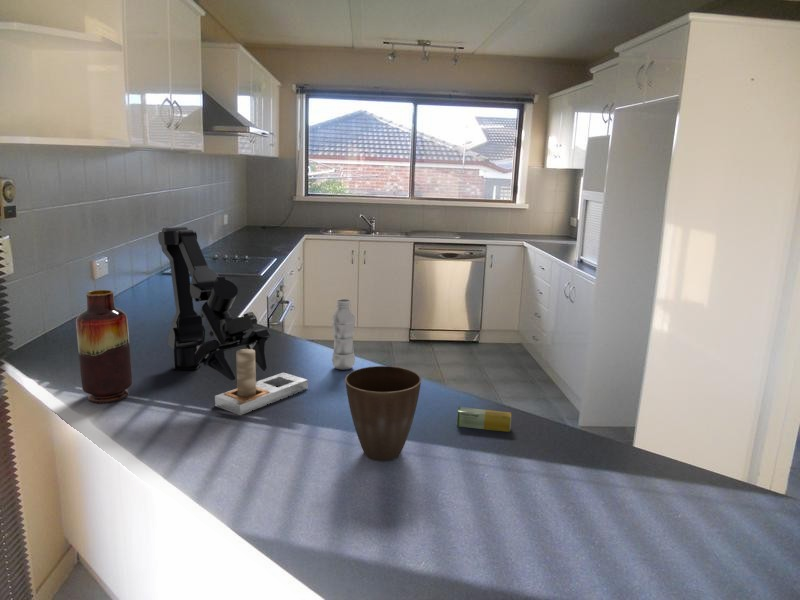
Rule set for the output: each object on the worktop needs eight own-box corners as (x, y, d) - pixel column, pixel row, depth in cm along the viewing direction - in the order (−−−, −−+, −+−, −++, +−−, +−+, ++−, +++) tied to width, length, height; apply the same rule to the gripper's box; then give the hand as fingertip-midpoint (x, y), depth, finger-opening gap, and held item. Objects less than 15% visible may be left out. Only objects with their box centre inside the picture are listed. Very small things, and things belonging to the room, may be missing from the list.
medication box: (456, 427, 135) (456, 410, 134) (457, 422, 137) (458, 406, 136) (510, 433, 132) (511, 416, 132) (510, 428, 135) (511, 411, 134)
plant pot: (392, 479, 111) (394, 397, 108) (329, 457, 119) (329, 381, 115) (432, 448, 123) (434, 375, 120) (372, 431, 131) (373, 361, 128)
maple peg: (236, 406, 142) (234, 354, 140) (239, 399, 147) (237, 349, 144) (255, 406, 143) (254, 354, 140) (257, 399, 147) (256, 348, 145)
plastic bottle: (359, 366, 173) (359, 299, 169) (347, 373, 167) (347, 304, 163) (339, 363, 176) (340, 297, 172) (327, 370, 170) (327, 301, 166)
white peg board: (240, 415, 138) (239, 404, 137) (215, 405, 143) (214, 395, 142) (307, 388, 155) (307, 379, 155) (283, 381, 160) (283, 371, 160)
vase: (83, 408, 140) (72, 298, 134) (83, 392, 149) (73, 289, 144) (134, 400, 145) (126, 295, 139) (131, 386, 154) (123, 286, 149)
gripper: (199, 309, 135) (230, 366, 131) (265, 296, 149) (295, 348, 145) (181, 336, 141) (210, 391, 137) (246, 321, 156) (275, 371, 151)
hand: (249, 374), depth 142 cm, fingers open, 9 cm apart
